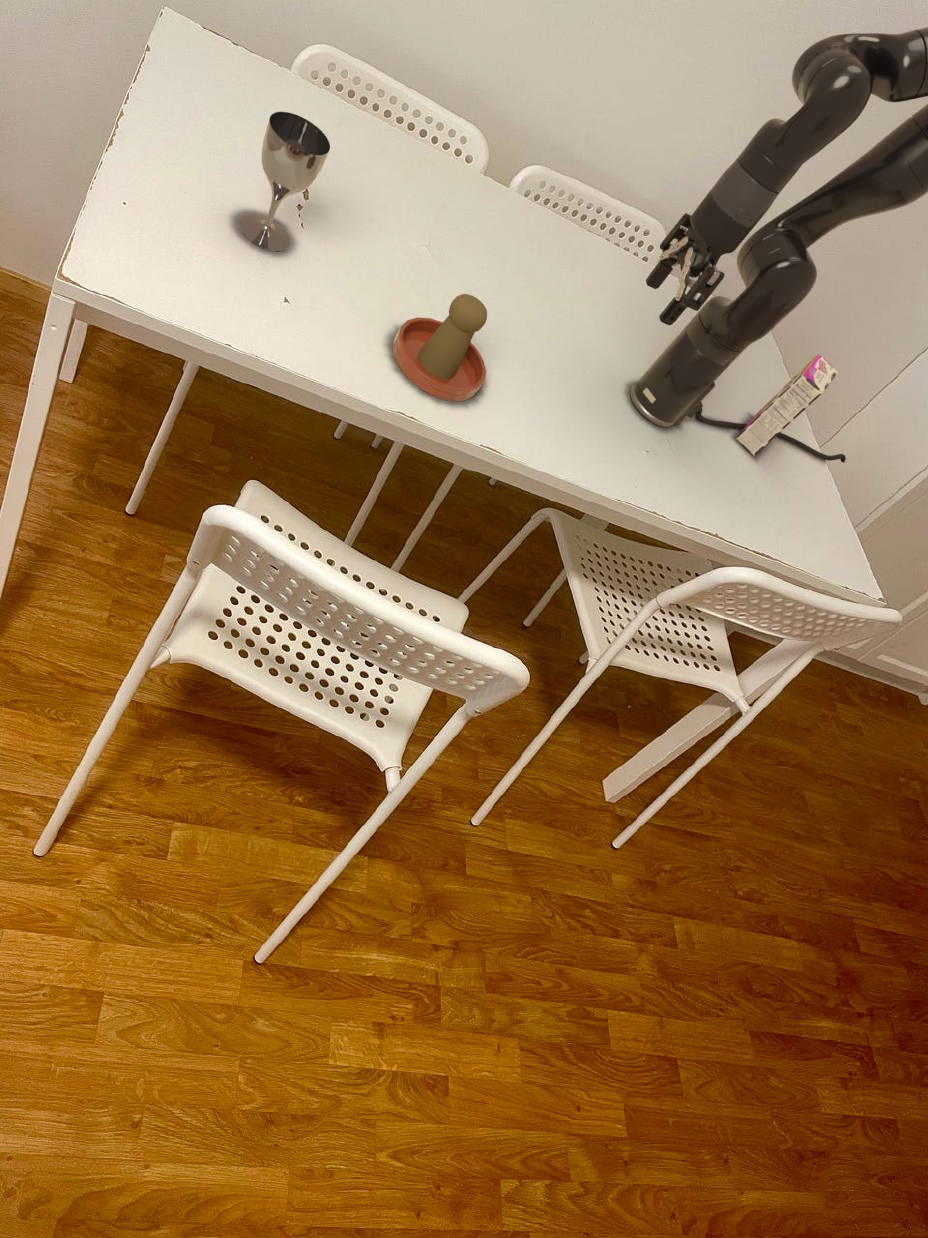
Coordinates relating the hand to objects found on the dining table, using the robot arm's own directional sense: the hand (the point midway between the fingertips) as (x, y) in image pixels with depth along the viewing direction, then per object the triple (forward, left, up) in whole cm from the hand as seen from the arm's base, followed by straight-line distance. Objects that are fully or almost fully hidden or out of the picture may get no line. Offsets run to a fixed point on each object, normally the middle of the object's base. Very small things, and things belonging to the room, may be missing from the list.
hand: (657, 303), depth 123 cm
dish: (+28, +4, -18) cm, 33 cm away
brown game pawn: (+28, +4, -18) cm, 33 cm away
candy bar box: (-38, -1, -18) cm, 42 cm away
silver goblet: (+52, -13, -18) cm, 56 cm away
